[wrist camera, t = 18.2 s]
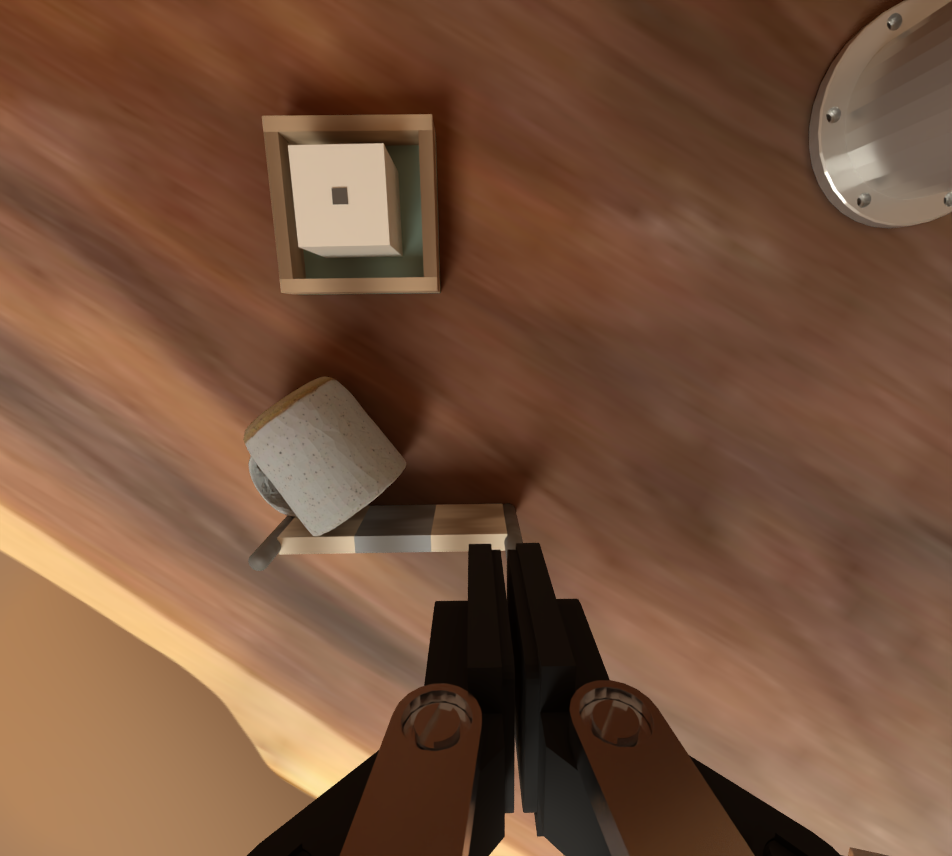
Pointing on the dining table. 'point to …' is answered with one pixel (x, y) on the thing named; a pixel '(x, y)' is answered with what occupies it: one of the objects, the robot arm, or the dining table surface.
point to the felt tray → (417, 173)
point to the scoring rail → (398, 531)
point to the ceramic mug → (320, 456)
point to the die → (346, 200)
